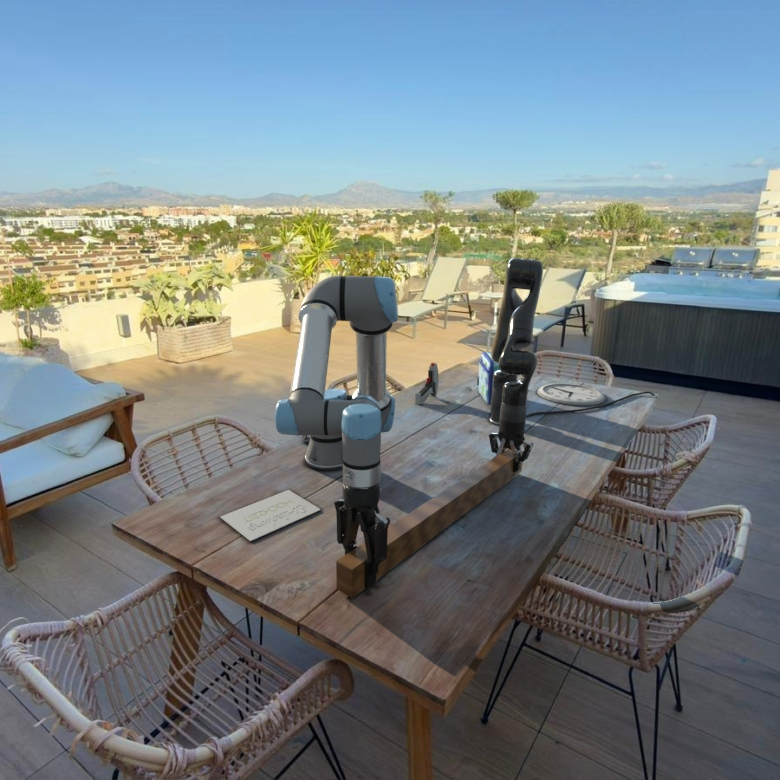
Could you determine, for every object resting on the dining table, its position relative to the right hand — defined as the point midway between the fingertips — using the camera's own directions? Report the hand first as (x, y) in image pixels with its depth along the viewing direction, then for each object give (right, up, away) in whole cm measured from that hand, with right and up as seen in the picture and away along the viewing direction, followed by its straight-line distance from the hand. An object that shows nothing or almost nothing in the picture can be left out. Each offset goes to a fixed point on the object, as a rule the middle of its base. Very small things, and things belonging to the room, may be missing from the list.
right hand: (507, 468), depth 159 cm
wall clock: (+48, +22, +82) cm, 97 cm away
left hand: (-42, -16, -48) cm, 66 cm away
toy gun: (-20, +19, +71) cm, 76 cm away
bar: (-21, -9, -24) cm, 33 cm away
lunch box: (+9, +20, +74) cm, 77 cm away
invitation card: (-67, -9, -21) cm, 71 cm away
